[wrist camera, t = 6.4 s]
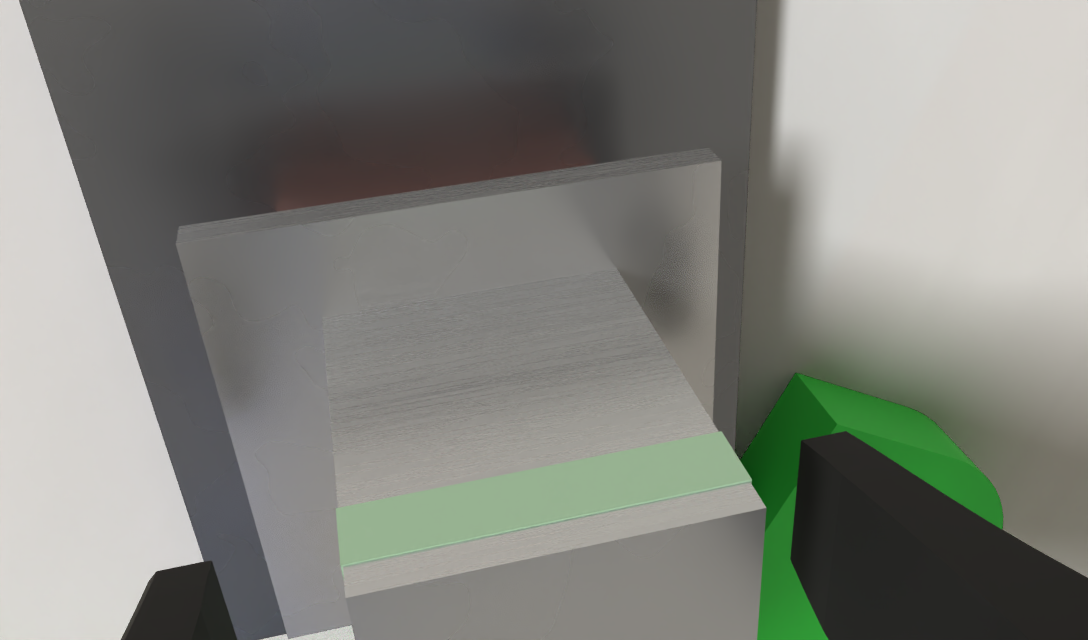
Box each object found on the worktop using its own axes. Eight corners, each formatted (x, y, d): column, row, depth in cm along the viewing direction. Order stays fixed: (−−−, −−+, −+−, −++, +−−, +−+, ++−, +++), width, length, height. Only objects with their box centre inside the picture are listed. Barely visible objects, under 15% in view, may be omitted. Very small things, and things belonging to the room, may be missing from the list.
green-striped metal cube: (624, 490, 16) (749, 766, 12) (367, 543, 15) (404, 856, 11) (617, 266, 14) (768, 506, 10) (319, 316, 13) (343, 596, 9)
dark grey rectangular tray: (712, 505, 21) (782, 629, 19) (233, 606, 20) (227, 759, 17) (733, -94, 15) (844, -49, 12) (34, -18, 14) (-31, 55, 11)
